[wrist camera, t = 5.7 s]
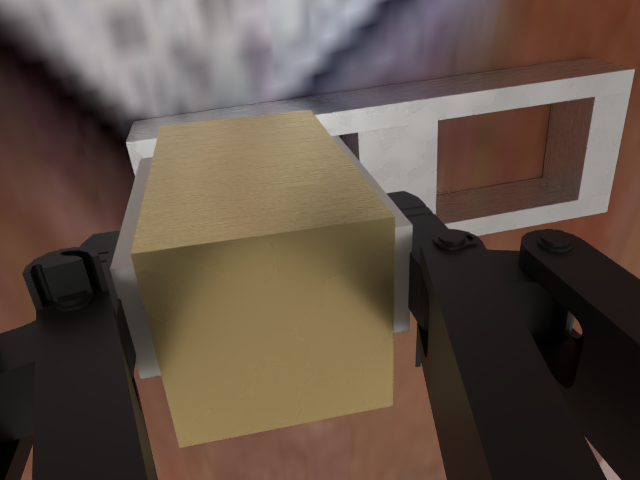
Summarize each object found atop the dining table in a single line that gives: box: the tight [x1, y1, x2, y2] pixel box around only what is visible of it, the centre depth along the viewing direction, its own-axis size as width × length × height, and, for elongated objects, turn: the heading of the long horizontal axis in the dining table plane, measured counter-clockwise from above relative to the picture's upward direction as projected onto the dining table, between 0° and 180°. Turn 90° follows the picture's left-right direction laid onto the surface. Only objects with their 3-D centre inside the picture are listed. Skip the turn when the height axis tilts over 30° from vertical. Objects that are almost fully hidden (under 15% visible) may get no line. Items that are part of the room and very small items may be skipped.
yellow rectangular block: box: [131, 110, 395, 448], centre depth 13 cm, size 4×4×8 cm
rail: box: [126, 57, 635, 236], centre depth 32 cm, size 9×28×4 cm, turn 96°
